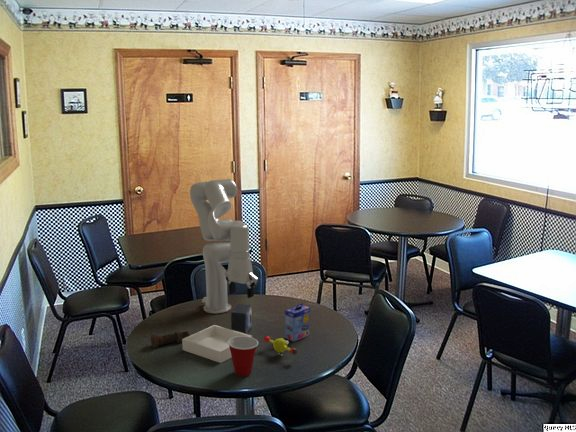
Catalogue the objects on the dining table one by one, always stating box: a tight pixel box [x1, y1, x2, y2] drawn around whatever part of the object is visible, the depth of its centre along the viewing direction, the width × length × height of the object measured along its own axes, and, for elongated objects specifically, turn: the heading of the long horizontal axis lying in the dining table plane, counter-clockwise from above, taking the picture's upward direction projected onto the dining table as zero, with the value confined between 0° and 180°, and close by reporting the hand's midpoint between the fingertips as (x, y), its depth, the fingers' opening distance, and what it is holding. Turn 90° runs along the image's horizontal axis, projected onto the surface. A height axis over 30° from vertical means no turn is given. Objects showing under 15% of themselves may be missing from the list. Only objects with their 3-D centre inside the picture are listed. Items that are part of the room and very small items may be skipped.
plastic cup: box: [228, 336, 259, 377], centre depth 206 cm, size 11×11×12 cm
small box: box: [230, 303, 253, 335], centre depth 243 cm, size 11×6×10 cm, turn 168°
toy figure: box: [263, 335, 298, 357], centre depth 220 cm, size 18×6×7 cm, turn 42°
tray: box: [181, 324, 253, 364], centre depth 228 cm, size 20×18×4 cm
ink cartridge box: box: [284, 302, 311, 342], centre depth 237 cm, size 10×6×14 cm, turn 137°
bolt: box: [150, 330, 191, 349], centre depth 233 cm, size 6×5×15 cm
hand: (241, 295), depth 240 cm, fingers open, 9 cm apart
